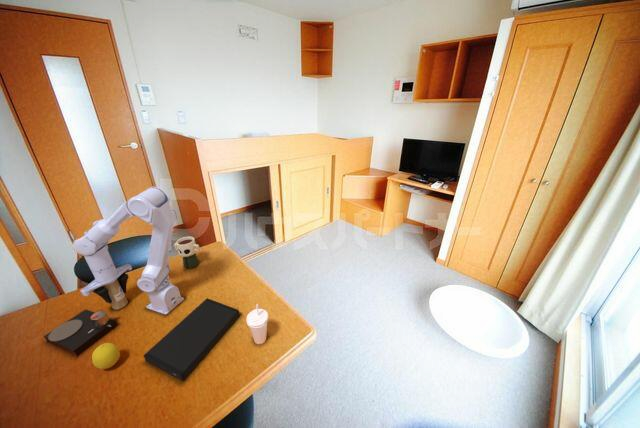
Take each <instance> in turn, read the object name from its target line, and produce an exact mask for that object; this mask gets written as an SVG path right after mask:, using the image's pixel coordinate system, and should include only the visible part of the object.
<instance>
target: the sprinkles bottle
mask: <svg viewBox="0 0 640 428" xmlns="http://www.w3.org/2000/svg"><path fill="white" fill-rule="evenodd" d="M103 287H104V288H106V289H108V293H109V296H110V298H111V300H112V303H110V305H111V308H112V309H113V310H116V311H117V310H120V309H123V308H124V307H126V306H127V305H128V303H129V302H128V300H127V298H126V295H125V294H124V292H123V290H122V288H121V286H120V284H119V282H118V280H117V279H116V280H114V281H112V282H110V283H108V284H105V285H103Z"/></svg>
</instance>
